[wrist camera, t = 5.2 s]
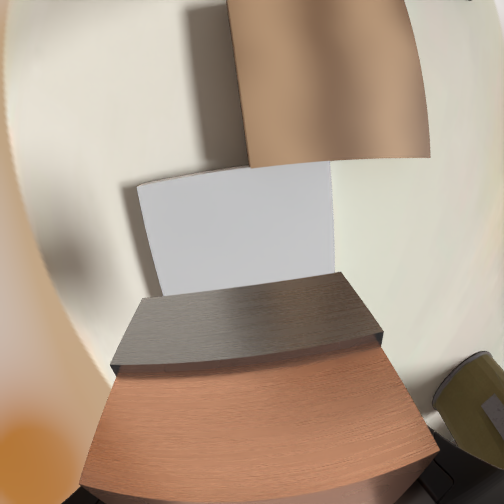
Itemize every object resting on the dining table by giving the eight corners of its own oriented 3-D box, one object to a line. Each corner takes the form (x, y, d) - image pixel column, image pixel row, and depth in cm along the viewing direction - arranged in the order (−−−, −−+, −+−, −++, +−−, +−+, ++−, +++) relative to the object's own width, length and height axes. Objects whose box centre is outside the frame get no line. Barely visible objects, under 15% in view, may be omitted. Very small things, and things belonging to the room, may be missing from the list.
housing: (329, 428, 10) (359, 535, 5) (204, 443, 9) (200, 553, 5) (340, 271, 7) (451, 440, 2) (142, 298, 7) (65, 476, 2)
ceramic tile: (322, 157, 17) (329, 159, 15) (328, 311, 21) (333, 322, 19) (144, 182, 17) (136, 186, 15) (181, 330, 21) (178, 343, 19)
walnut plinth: (386, 10, 13) (403, -2, 10) (409, 154, 17) (430, 157, 14) (226, 3, 13) (225, -14, 10) (248, 165, 17) (251, 168, 14)
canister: (491, 373, 28) (554, 461, 9) (437, 417, 30) (489, 517, 11) (489, 334, 24) (578, 442, 6) (424, 389, 26) (495, 519, 8)
